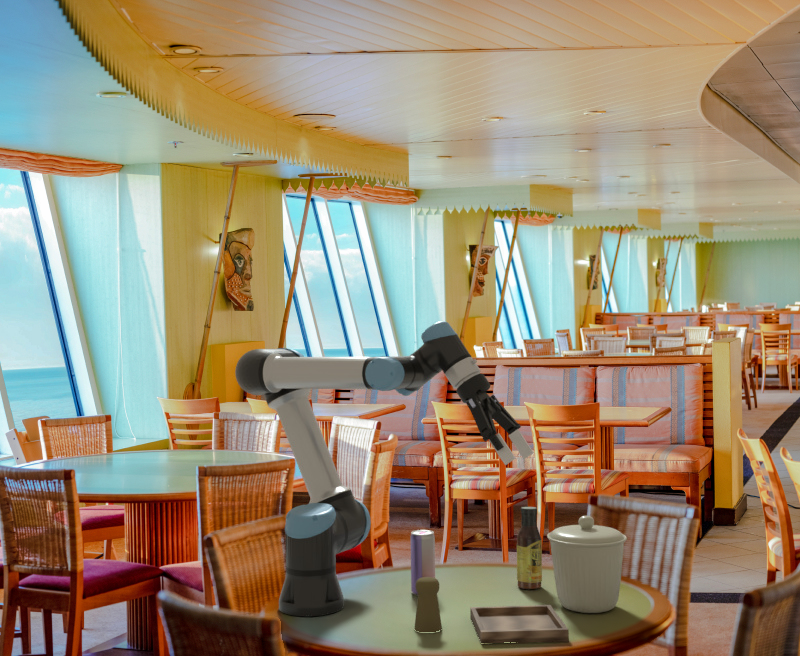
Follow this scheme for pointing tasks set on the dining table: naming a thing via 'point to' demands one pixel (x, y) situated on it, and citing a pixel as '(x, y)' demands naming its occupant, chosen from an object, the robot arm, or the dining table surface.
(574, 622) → the dining table surface
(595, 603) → the canister
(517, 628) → the tray
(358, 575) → the dining table surface
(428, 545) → the beverage can
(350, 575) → the dining table surface
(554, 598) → the dining table surface
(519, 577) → the sauce bottle
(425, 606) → the brown tapered upright piece
